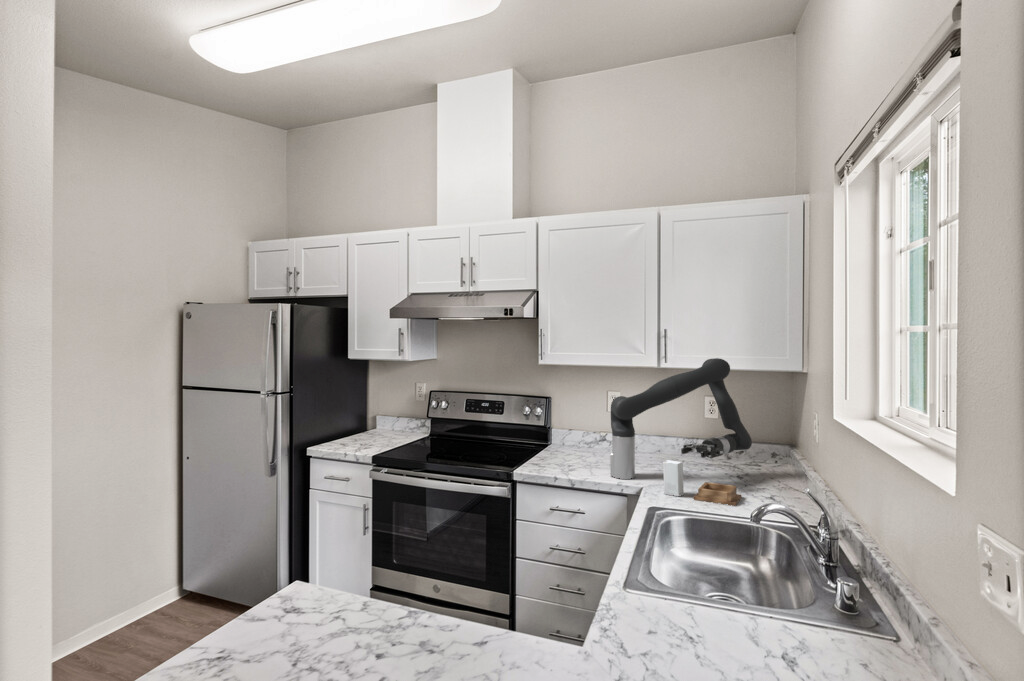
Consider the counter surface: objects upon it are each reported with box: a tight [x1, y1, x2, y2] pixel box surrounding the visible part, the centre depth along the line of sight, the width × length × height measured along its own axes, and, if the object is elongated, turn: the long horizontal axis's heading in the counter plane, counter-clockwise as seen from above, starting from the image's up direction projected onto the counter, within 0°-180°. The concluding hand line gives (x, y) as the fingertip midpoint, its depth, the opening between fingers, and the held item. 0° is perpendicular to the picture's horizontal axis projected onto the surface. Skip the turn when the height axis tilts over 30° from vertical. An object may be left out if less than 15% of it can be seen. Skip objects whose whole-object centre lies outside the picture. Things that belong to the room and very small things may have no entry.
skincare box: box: [662, 459, 685, 497], centre depth 203 cm, size 6×4×12 cm
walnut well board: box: [692, 482, 742, 507], centre depth 198 cm, size 14×12×4 cm
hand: (691, 452), depth 210 cm, fingers open, 8 cm apart
